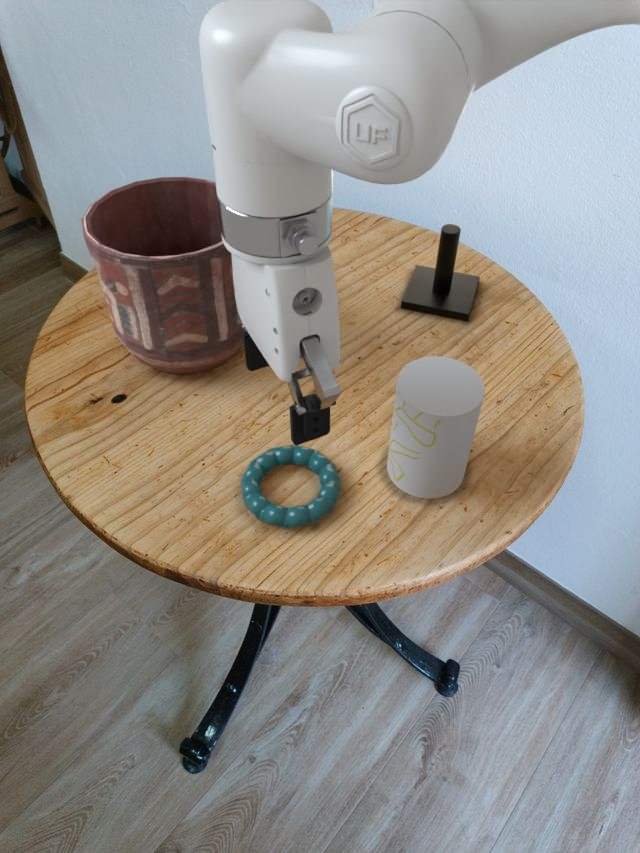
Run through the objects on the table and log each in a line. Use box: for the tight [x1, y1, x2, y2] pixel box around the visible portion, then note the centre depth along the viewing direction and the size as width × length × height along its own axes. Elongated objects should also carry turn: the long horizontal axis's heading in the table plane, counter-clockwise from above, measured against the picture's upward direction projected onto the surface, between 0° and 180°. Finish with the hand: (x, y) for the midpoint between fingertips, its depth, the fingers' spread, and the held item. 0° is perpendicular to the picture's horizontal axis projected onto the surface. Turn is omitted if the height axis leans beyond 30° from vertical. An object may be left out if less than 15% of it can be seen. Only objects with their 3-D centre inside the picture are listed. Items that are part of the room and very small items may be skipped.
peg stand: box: [400, 223, 481, 322], centre depth 90 cm, size 9×9×10 cm
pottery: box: [80, 176, 248, 376], centre depth 80 cm, size 18×18×18 cm
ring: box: [240, 444, 343, 530], centre depth 70 cm, size 10×10×2 cm
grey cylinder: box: [386, 355, 486, 500], centre depth 68 cm, size 8×8×12 cm
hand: (286, 399), depth 58 cm, fingers open, 9 cm apart
